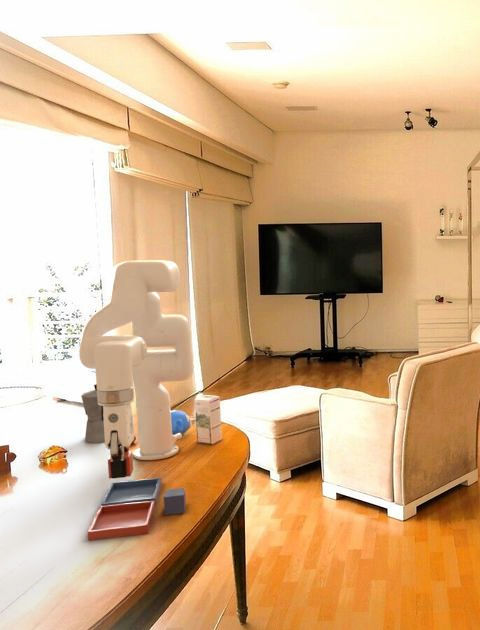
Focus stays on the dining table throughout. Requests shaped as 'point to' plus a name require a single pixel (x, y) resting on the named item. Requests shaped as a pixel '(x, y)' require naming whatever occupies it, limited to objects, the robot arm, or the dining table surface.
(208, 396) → the syrup box
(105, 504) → the blue tray
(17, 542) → the dining table surface
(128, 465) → the red block
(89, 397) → the coffeepot
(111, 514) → the red tray
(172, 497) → the blue block
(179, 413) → the blue mole toy
